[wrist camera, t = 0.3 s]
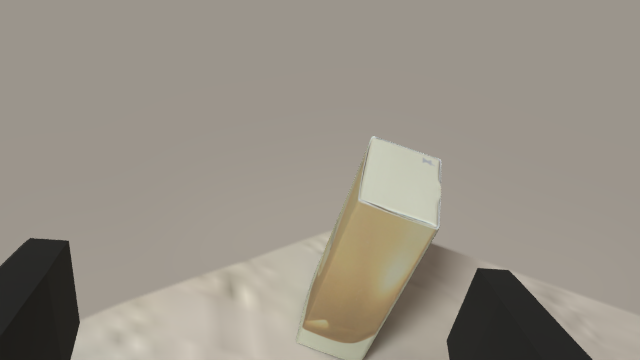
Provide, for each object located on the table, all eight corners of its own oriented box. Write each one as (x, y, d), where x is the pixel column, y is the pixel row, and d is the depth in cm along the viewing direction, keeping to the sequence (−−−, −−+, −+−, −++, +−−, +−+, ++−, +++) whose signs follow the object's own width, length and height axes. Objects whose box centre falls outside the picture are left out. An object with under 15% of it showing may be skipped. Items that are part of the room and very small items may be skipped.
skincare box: (313, 273, 39) (371, 130, 32) (372, 293, 39) (443, 155, 32) (292, 347, 34) (356, 197, 27) (360, 371, 34) (442, 227, 27)
